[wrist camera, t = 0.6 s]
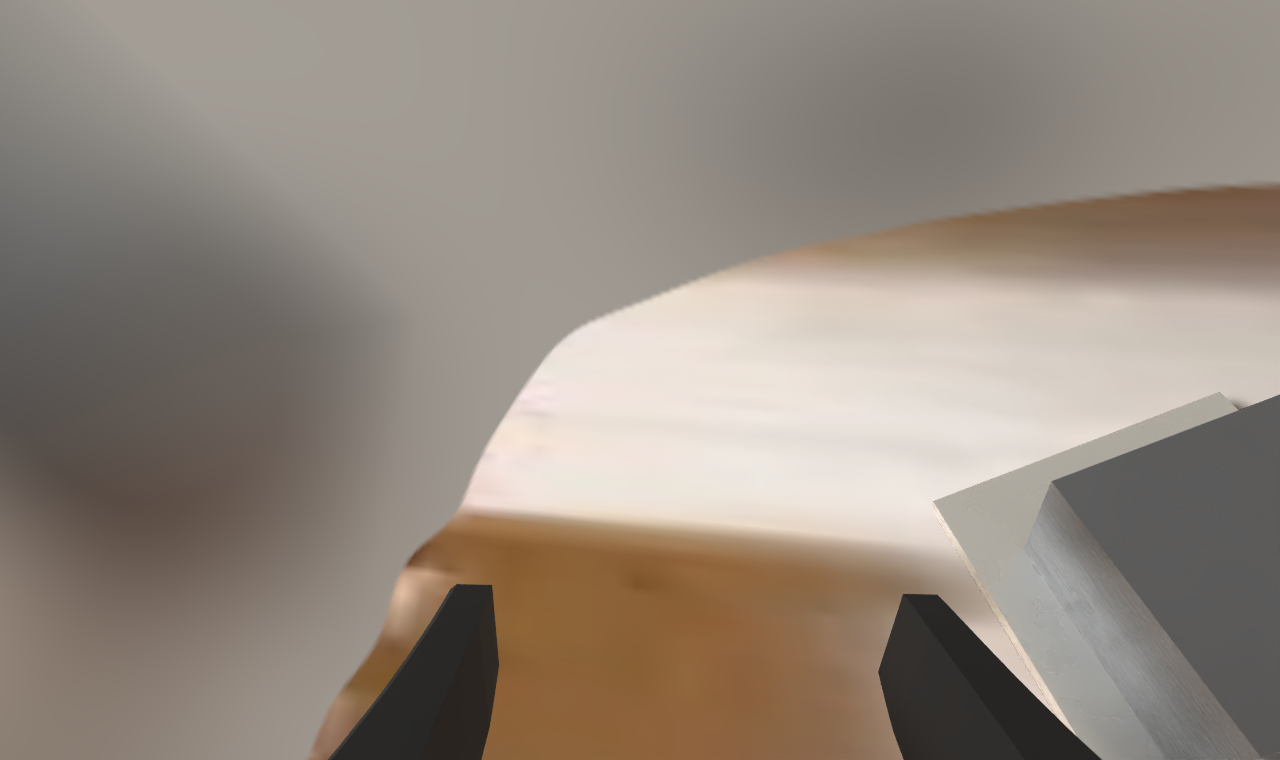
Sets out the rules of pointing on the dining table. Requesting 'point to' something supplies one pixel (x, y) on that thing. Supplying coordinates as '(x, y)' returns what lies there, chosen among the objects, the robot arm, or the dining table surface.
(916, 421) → the dining table surface
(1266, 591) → the bearing block
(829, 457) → the dining table surface
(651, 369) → the dining table surface
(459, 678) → the robot arm
